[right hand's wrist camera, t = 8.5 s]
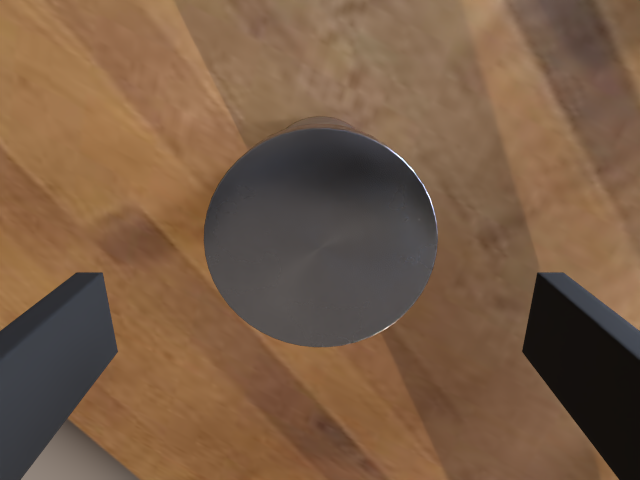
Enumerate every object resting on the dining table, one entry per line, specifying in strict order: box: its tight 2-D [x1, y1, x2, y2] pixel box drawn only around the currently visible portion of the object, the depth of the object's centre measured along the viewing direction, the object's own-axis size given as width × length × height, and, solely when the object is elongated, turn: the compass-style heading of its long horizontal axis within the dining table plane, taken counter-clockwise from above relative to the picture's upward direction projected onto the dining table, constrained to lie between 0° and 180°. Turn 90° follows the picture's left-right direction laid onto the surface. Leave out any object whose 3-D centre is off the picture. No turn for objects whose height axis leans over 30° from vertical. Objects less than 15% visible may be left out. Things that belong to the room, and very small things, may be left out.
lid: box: [204, 124, 438, 347], centre depth 19 cm, size 10×10×2 cm
